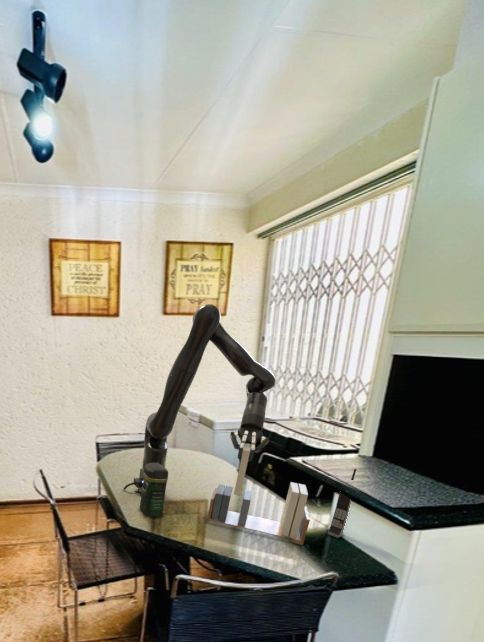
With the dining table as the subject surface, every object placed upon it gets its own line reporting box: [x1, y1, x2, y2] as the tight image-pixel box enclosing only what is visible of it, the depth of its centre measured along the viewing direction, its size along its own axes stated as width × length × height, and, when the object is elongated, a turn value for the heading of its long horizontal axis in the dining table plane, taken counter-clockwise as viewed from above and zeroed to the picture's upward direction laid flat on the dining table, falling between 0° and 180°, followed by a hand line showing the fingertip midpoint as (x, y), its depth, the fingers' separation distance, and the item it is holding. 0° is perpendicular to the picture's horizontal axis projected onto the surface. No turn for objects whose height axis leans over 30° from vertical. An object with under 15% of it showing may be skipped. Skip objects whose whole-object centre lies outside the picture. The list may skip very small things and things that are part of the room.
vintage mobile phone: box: [327, 468, 357, 539], centre depth 135 cm, size 4×5×25 cm
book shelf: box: [206, 487, 311, 546], centre depth 139 cm, size 32×12×10 cm, turn 69°
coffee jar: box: [139, 463, 169, 518], centre depth 141 cm, size 10×8×19 cm
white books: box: [279, 481, 309, 538], centre depth 134 cm, size 5×10×16 cm, turn 159°
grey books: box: [211, 483, 253, 526], centre depth 141 cm, size 12×10×10 cm
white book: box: [233, 444, 251, 496], centre depth 136 cm, size 2×10×16 cm, turn 159°
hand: (244, 460), depth 133 cm, fingers closed on white book, 2 cm apart
